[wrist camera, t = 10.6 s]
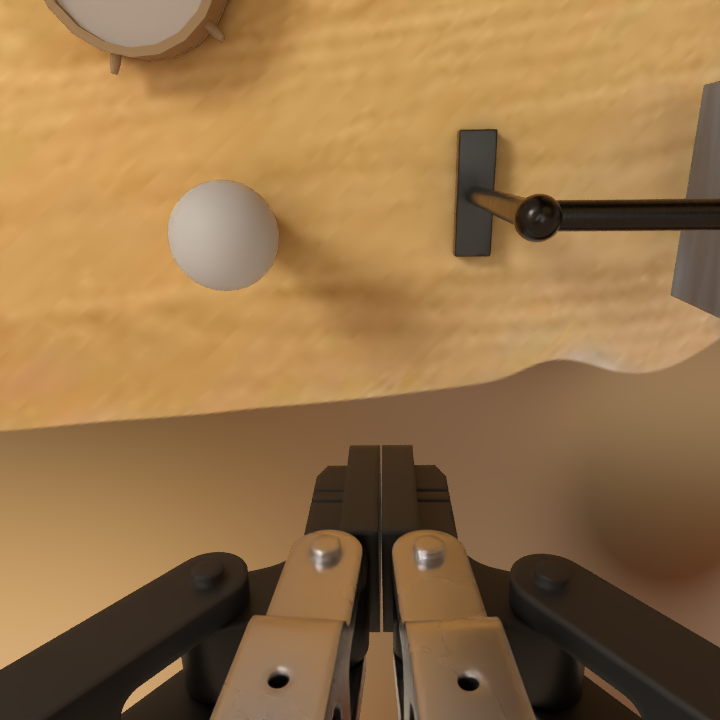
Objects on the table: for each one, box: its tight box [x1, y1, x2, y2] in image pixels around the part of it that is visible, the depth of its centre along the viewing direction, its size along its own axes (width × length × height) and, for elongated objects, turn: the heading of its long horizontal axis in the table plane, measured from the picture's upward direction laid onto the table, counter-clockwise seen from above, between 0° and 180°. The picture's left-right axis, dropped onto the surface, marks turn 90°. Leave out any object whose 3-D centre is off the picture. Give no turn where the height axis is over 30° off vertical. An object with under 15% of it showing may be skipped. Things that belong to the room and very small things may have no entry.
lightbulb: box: [168, 180, 279, 291], centre depth 35 cm, size 6×6×11 cm
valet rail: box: [453, 129, 720, 257], centre depth 30 cm, size 18×8×19 cm, turn 91°
